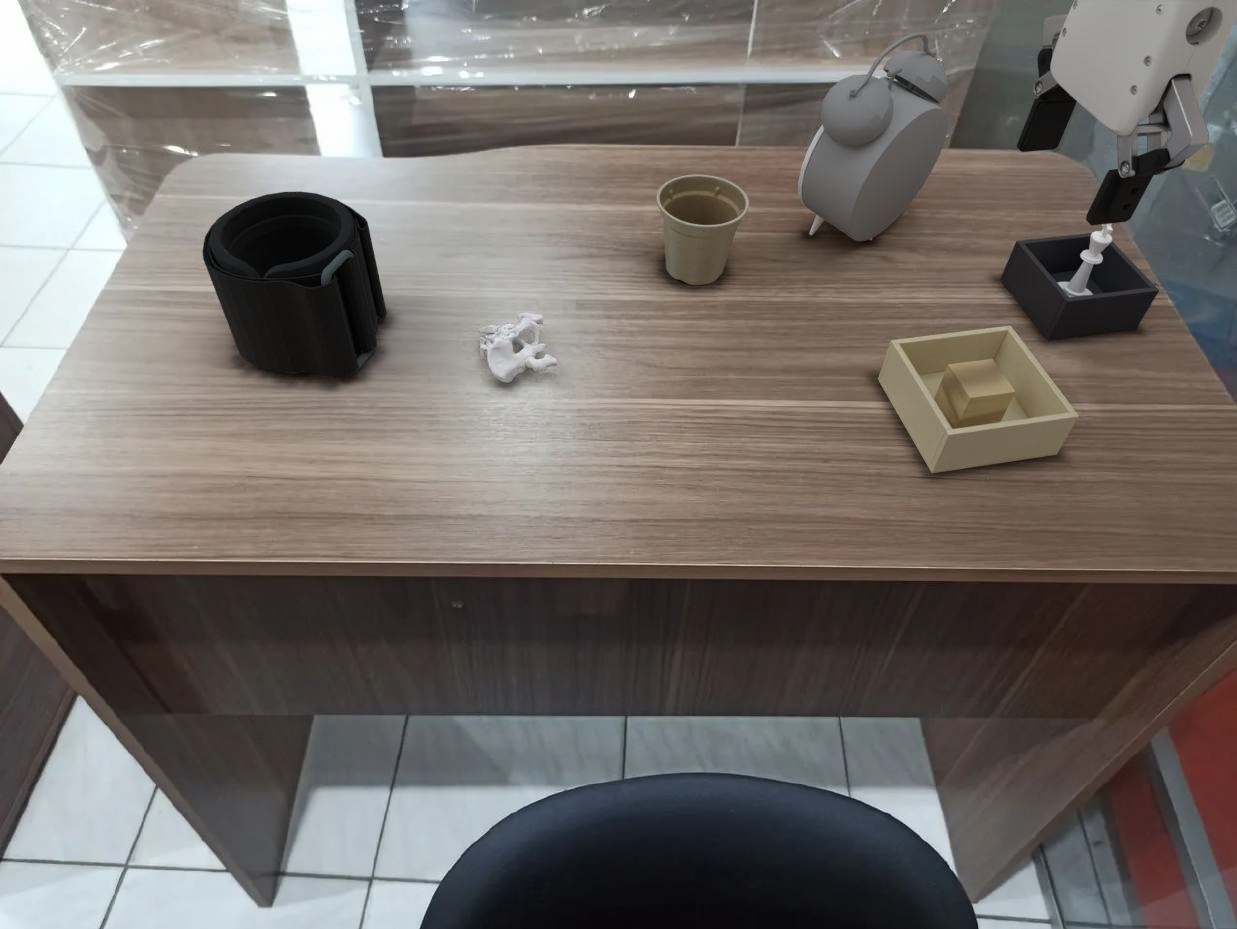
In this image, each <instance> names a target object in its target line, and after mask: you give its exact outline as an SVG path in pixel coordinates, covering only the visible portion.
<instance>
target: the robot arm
mask: <svg viewBox="0 0 1237 929" xmlns="http://www.w3.org/2000/svg"><path fill="white" fill-rule="evenodd" d="M1236 20H1237V0H1073V3H1072V5H1071V7H1070V10H1069V12H1067V13H1061V14H1060V13H1059V14H1053V15H1048V16H1047V17H1045V18H1044V20H1043V23H1042V32H1041V42H1040V43H1041V44H1040V46H1041V47H1042V48H1041V49H1040V50H1039V52H1038V54H1037V58H1036V59H1037V71H1038V78H1037V79H1036V80H1035V82H1034V84H1033V88H1032V91H1033V95H1034V96H1035V97H1037V98H1034V100H1033V102H1032V105H1031V107H1030V110H1029V113H1028V115H1027V118H1026V121H1025V122H1024V125H1023V128H1022V130H1021V133H1020V136H1019V138H1018V141H1017V144H1016V148H1017V149H1018V151H1019V152H1020V153H1028V152H1029V153H1030V152H1040V151H1050V150H1052V151H1053V150H1056V149H1057V148H1058V147H1059V145H1060V143H1061V141H1062V139H1063V136H1064V134H1065V132H1066V129H1067V126H1068V125H1069V122H1070V120H1071V117H1072V115H1073V112H1074V110H1075V107H1076V105H1077V103H1078V104H1079V105H1081V107H1083V109H1085V110H1086V111H1087V112H1088V113H1089V114H1090V115H1092V117H1094V118H1095V119H1096V120H1097V121H1098V122H1099V123H1100V124H1101V125H1103V126H1104V127H1105V128H1106V129H1107V130H1109V131H1110V132H1111V133H1113V134H1115V135H1116V146H1117V147H1116V148H1117V168H1114V169H1113V168H1112V169H1109V170H1108V171H1107V172H1106V174H1105V177H1104V178H1103V180H1102V182H1101V185H1100V186H1099V188H1098V190H1097V193H1096V194H1095V197H1094V199H1093V201H1092V203H1091V205H1090V207H1089V208H1088V211H1087V213H1086V216H1085V220H1086V222H1087V223H1088V224H1089V225H1090V226H1102V224H1112V225H1113V224H1120V223H1121V224H1122V223H1126V222H1128V221H1129V220H1130V219H1132V217H1133V215H1134V214H1135V211H1136V210H1137V208H1138V206H1139V204H1140V202H1141V200H1142V198H1143V196H1144V195H1145V192H1146V190H1147V189H1148V187H1149V185H1150V183H1151V181H1152V180H1153V177H1154V176H1160V175H1161V176H1162V175H1163V174H1165V173H1166V172H1167V171H1171V170H1173V169H1176V168H1179V167H1182V166H1183V164H1185V162H1186V160H1187V159H1189V158H1191V157H1192V156H1193V155H1194V154H1196V153H1197V152H1199V151H1200V150H1201V149H1203V147H1204V146H1206V145H1207V144H1208V142H1209V140H1210V133H1209V130H1208V126H1207V124H1206V121H1205V118H1204V116H1203V113H1202V110H1201V108H1200V105H1199V104H1200V102H1201V101H1202V98H1203V96H1204V94H1205V92H1206V90H1207V87H1208V85H1209V83H1210V81H1211V79H1212V77H1213V75H1214V72H1215V70H1216V68H1217V66H1218V63H1219V61H1220V59H1221V57H1222V55H1223V52H1224V49H1225V47H1226V45H1227V43H1228V41H1229V38H1230V35H1231V33H1232V30H1233V27H1234V25H1235V23H1236ZM1147 118H1148V123H1140V121H1142V122H1145V120H1146V119H1147ZM1169 132H1170V133H1171V135H1170V137H1169ZM1138 137H1146V147H1147V148H1146V152H1145V153H1141V154H1139V143H1138V142H1139V138H1138Z"/></svg>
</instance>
